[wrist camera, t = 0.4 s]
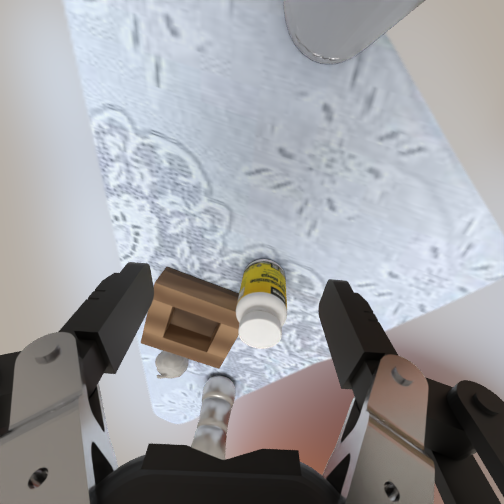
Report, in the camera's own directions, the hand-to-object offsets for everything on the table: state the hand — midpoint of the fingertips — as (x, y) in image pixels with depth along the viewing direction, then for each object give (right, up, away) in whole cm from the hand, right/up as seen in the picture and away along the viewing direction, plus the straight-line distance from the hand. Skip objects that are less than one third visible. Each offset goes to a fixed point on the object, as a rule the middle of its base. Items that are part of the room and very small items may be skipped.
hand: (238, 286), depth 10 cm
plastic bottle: (-6, -26, +38) cm, 46 cm away
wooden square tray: (-9, -9, +28) cm, 31 cm away
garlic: (-14, -19, +35) cm, 42 cm away
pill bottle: (+2, -2, +24) cm, 24 cm away
